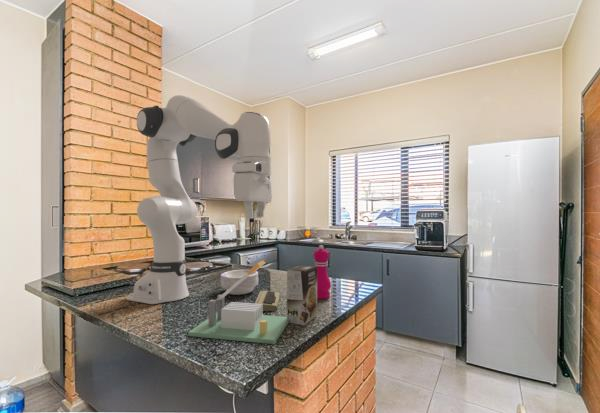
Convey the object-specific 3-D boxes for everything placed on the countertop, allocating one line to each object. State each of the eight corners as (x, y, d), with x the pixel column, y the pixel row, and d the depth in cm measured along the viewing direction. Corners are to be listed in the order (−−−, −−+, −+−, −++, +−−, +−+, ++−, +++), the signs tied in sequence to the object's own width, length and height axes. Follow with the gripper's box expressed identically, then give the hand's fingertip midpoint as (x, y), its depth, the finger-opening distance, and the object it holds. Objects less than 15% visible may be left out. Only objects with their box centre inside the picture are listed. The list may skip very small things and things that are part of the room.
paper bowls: (213, 292, 118) (213, 273, 118) (242, 285, 130) (242, 267, 130) (236, 300, 108) (236, 278, 108) (266, 291, 120) (265, 272, 120)
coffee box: (305, 327, 84) (305, 271, 84) (286, 323, 87) (286, 269, 87) (318, 316, 92) (318, 265, 92) (300, 313, 95) (300, 264, 95)
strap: (212, 306, 82) (209, 303, 82) (220, 301, 87) (218, 298, 87) (259, 266, 79) (257, 262, 79) (265, 263, 84) (263, 259, 84)
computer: (277, 312, 96) (277, 302, 96) (253, 312, 96) (252, 302, 96) (280, 298, 112) (280, 289, 112) (259, 298, 112) (259, 289, 112)
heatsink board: (188, 335, 77) (188, 305, 77) (217, 314, 93) (217, 289, 93) (274, 344, 72) (274, 311, 72) (290, 320, 88) (290, 293, 88)
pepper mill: (309, 298, 110) (309, 245, 110) (315, 293, 116) (315, 243, 117) (327, 300, 107) (327, 246, 107) (333, 295, 114) (332, 244, 114)
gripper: (257, 174, 93) (257, 217, 93) (228, 164, 73) (229, 219, 73) (276, 173, 92) (276, 217, 92) (252, 163, 72) (252, 219, 72)
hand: (255, 218), depth 82 cm, fingers open, 6 cm apart
